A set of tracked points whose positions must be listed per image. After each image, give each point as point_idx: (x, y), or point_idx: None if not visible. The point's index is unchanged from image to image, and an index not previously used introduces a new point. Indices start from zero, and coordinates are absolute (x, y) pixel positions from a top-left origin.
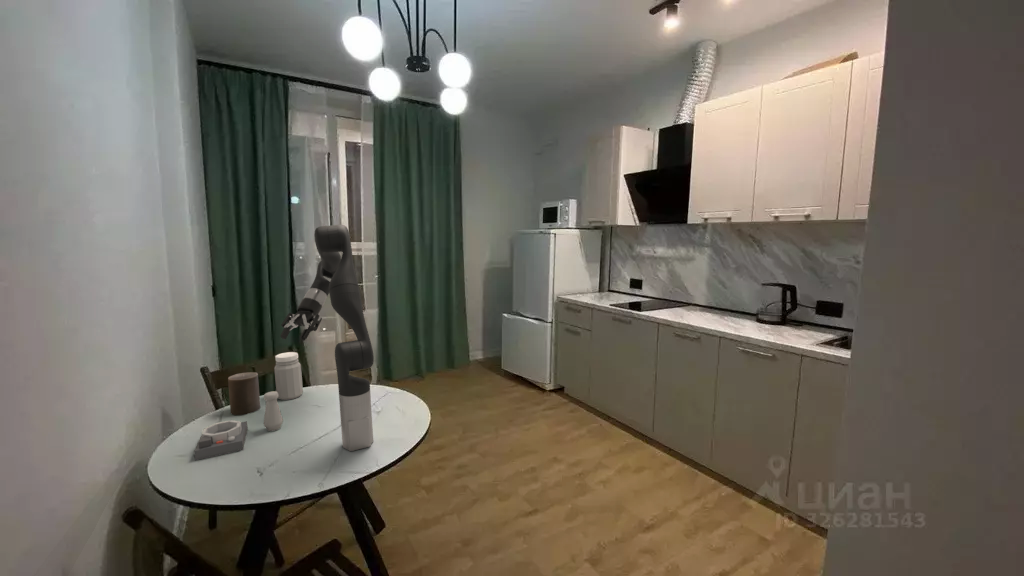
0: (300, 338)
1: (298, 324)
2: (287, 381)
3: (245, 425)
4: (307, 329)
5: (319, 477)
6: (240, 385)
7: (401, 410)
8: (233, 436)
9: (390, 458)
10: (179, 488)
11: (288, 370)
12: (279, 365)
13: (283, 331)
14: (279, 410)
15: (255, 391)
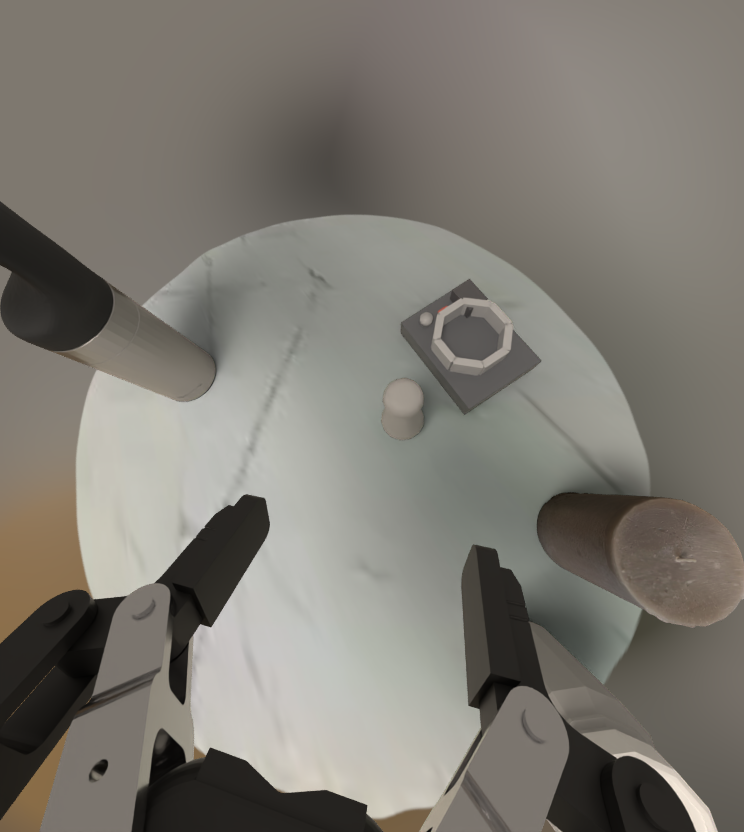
0: (258, 498)
1: (325, 797)
2: None
3: (452, 386)
4: (155, 592)
5: (217, 276)
6: (618, 502)
7: (127, 541)
8: (424, 321)
9: None
10: (412, 230)
11: None
12: (609, 720)
13: (502, 611)
14: (386, 417)
15: (571, 540)
